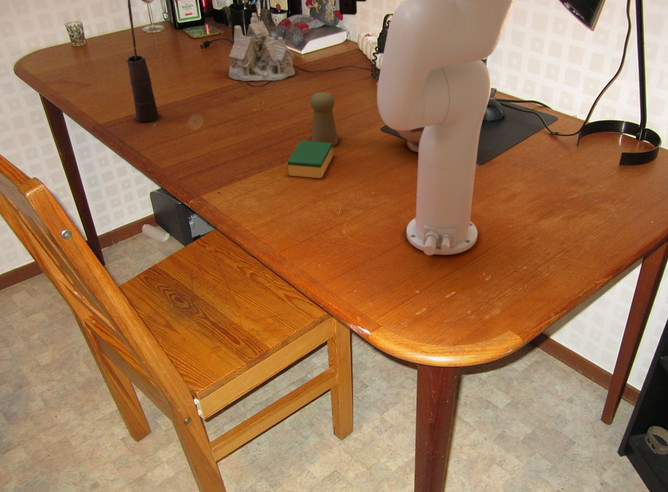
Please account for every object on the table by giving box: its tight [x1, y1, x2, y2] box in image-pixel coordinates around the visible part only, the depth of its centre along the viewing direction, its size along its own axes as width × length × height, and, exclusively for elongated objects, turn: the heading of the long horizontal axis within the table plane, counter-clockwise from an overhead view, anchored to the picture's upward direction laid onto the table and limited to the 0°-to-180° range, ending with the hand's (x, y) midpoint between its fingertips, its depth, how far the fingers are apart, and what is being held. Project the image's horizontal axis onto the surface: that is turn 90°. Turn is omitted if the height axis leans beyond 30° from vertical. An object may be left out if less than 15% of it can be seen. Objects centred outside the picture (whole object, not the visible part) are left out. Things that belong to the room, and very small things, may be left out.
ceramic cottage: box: [228, 12, 296, 82], centre depth 176 cm, size 16×16×15 cm
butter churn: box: [124, 0, 160, 123], centre depth 147 cm, size 9×10×28 cm
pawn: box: [310, 91, 339, 147], centre depth 142 cm, size 6×6×11 cm
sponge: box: [287, 140, 334, 179], centre depth 136 cm, size 10×7×3 cm
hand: (353, 7), depth 123 cm, fingers open, 9 cm apart
